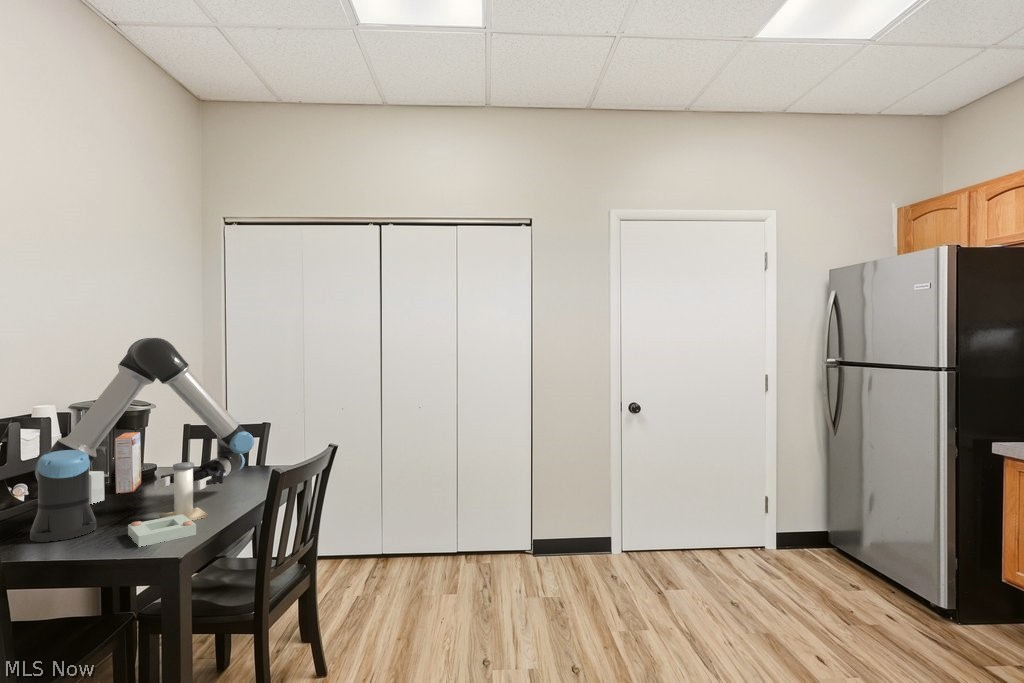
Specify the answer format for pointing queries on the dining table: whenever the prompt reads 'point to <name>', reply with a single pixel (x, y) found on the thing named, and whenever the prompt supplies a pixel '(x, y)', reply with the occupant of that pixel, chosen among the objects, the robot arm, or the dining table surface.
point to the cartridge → (183, 488)
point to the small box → (96, 486)
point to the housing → (161, 530)
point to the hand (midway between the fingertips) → (177, 485)
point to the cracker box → (127, 462)
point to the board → (196, 515)
